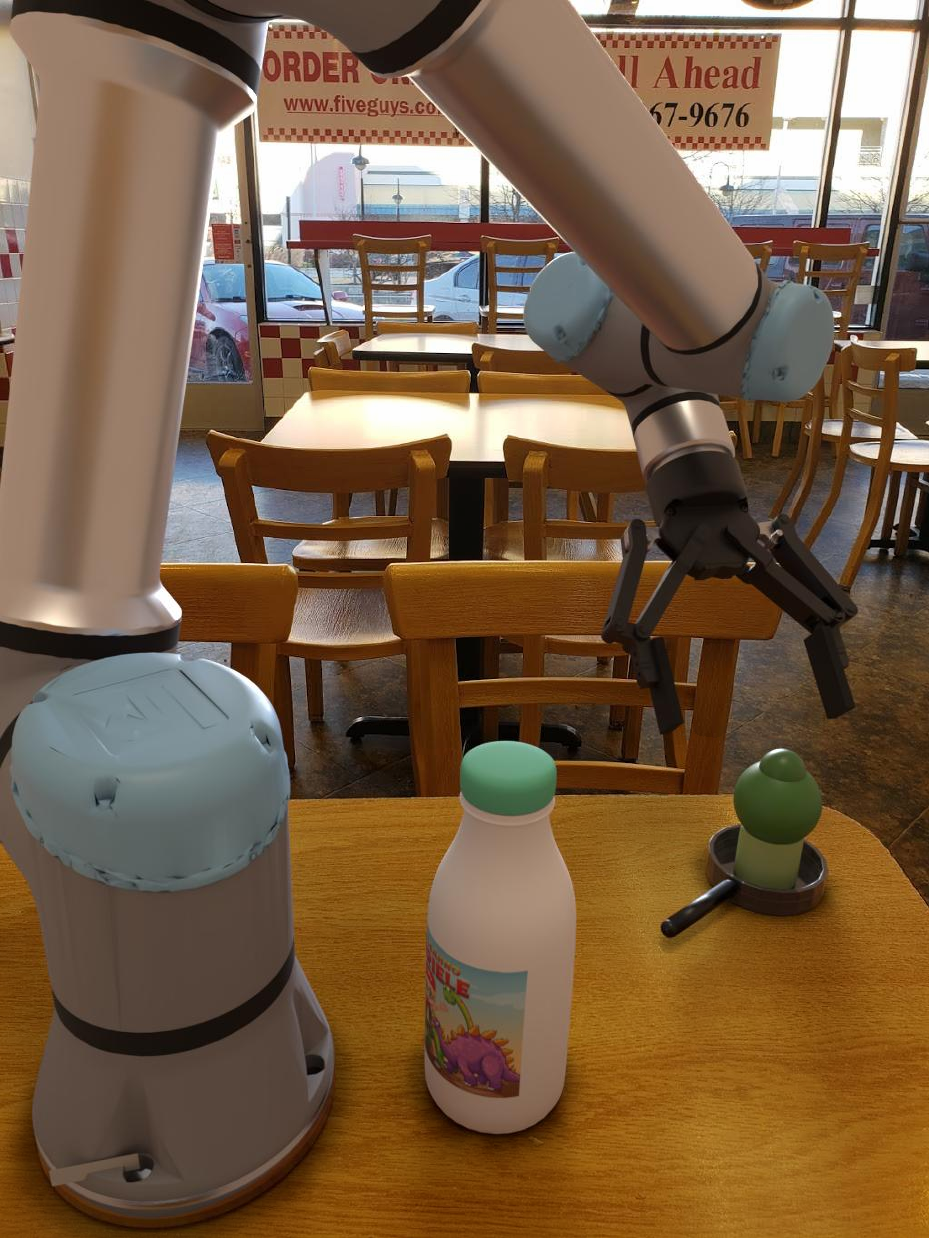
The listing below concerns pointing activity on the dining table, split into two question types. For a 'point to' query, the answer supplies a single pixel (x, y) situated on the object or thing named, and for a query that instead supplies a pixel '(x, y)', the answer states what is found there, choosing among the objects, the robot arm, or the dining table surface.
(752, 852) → the broccoli
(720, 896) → the pan handle
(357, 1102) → the dining table surface
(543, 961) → the milk bottle
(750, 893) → the pan
